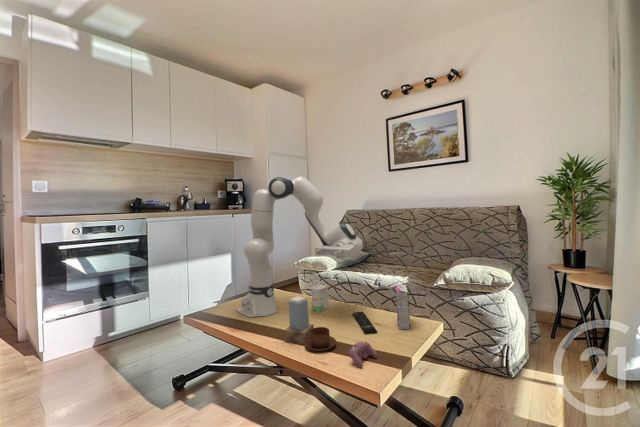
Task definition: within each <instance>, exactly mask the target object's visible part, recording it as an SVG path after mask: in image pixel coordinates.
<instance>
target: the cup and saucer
mask: <svg viewBox="0 0 640 427" xmlns="http://www.w3.org/2000/svg"><path fill="white" fill-rule="evenodd" d="M310 335H311V336H308V337H307V339H306V341H305V345H304V346H305V347H306V348H307V349H309V350H311V351H314V352H323V351H327V350H331V349H332V348H333V347H335V345H336V344H337V340H336V338H335V337H333V336H330V329H329V328H328V327H325V326H324V327H323V326H317V327H314V328H313V329H312V330H311V331H310Z"/></svg>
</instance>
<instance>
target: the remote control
mask: <svg viewBox="0 0 640 427" xmlns="http://www.w3.org/2000/svg"><path fill="white" fill-rule="evenodd" d="M352 315H353V317H354V319H355V320H356V322H357V323H358V325H359V327H360V329H361V330H362V332H363V334H364V335H370V334H371V335H372V334H373V335H375V334H378V331H377V329H376V327H375V326H374V325H373V323H372V322H371V321H370V319H369V318H368V316H367V315H366V313H365V312H364V311H356V312H355V311H354V312H352Z"/></svg>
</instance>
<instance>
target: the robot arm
mask: <svg viewBox="0 0 640 427" xmlns="http://www.w3.org/2000/svg"><path fill="white" fill-rule="evenodd" d="M289 196H293V197H294V198H296V199H297V201H299V203H300V204H301V205H302V207H303V208H304V209H303V210H304V216H305V219H306V220H307V222H308V223H309V224H310V226H311V227H312V229H313V230H314V232H315V234H316V235H317V236H318V239H319V241H320V242H321V244H322V245H321V246H320V245H319V246H315V248H314V253H315V255H316V256H331V257H335V258H337V259H340V260H341V259H342V260H343V259H346V258H357V254H358V253H360V252H361V251H362V249H363V247H364V246H363V245H364V243H363V241H362V239H361V238H360V237H358V236H357V235H356V231H355V229H354V227H353V226H352V225H351V224H350V223H348V222H347V221H346V222H345V221H340V222H338V223H337V224H336V225H334V227H332V228H331V229H330V230H329V231H328V230H327V229H326V228H325V226H324V225H323V223H322V222H321V221H320V218H319V214H320V210H321V209H322V206H323V202H324V198H323V195H322V193H321V192H320V191H319V190H318V188H317V187H316V186H315V185H314V184H312V182H311V181H310V180H308V179H307V178H305V177H304V176H297V177H295V178H294V179H293V180H291V179H288V178H285V177H281V176H277V177H274V178H272V179H271V180H270V181H269V183H268V186H267V188H262V189H261V188H260V189H258V190H256V191H255V192H254V195H253V199H252V205H251V218H250V227H251V230H252V239H250V240H249V241H247V243H246V244H245V246H244V248H243V253H244V255H245V257H246V259H247V264H248V267H249V273H250V286H249V285H248V288H247V289H249V290H248V293H247V294H245V296H243V297H242V299H241V301H240V306H239V307H237V308H236V312H237V313H240V314H242V315H244V316H246V317H248V318H255V317H266V316H271V315H273V314H276V312H278V305H277V303H276V302H277V301H276V294H275V292H274V290H275V285H274V283H273V281H274V280H273V268H272V267H271V262H270V259H269V255H271V254H272V253H273V250H274V249H275V242H274V231H273V230H274V229H273V226H274V225H273V221H274V208H275V202H276V201H277V200H283V199H286V198H287V197H289Z"/></svg>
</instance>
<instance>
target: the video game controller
mask: <svg viewBox="0 0 640 427" xmlns="http://www.w3.org/2000/svg"><path fill="white" fill-rule="evenodd" d="M368 354H369V355H370V356H371V357H372V358H374V359H376V358H378V353H377V352H376V350H375V349H374V347H372V345H371V344H370V342H367V341H364V340H363V341H359V342H356V343H355V344H353V346H351V348H349V350H348V355H349V357H350V358H351V360H352V361H353V363H354V364H355V365H356V366H357V367H358V368H360V369H362V368H363V367H364V365H363V362H362V361H363V359H367V358H368V356H369V355H368Z"/></svg>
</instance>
